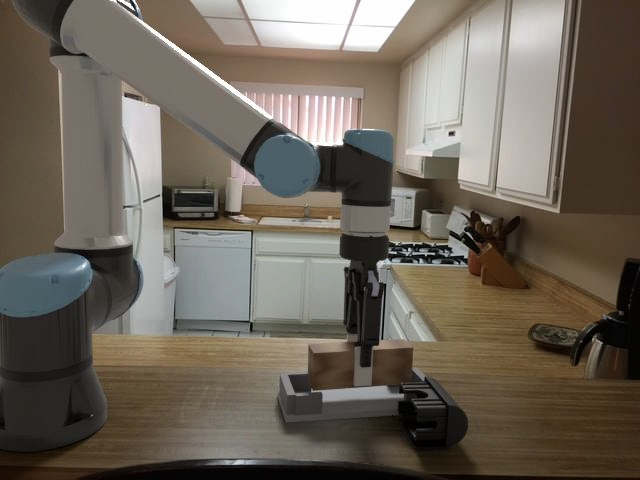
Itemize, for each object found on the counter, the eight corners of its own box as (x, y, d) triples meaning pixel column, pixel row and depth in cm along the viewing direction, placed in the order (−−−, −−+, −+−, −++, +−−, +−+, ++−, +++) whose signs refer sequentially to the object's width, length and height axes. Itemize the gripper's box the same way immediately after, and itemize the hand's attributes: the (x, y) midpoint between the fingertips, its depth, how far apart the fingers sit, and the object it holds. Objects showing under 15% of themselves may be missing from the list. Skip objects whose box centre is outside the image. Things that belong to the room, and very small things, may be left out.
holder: (285, 422, 78) (286, 396, 78) (277, 396, 87) (278, 372, 86) (437, 412, 83) (439, 388, 83) (415, 388, 92) (416, 366, 92)
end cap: (466, 452, 72) (470, 404, 71) (416, 453, 71) (419, 406, 70) (440, 417, 82) (443, 375, 81) (395, 418, 81) (398, 376, 80)
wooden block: (312, 390, 81) (313, 353, 80) (307, 380, 85) (308, 344, 84) (411, 383, 85) (413, 347, 84) (402, 373, 88) (403, 339, 88)
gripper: (408, 241, 74) (399, 400, 77) (371, 226, 90) (365, 358, 94) (356, 241, 72) (349, 404, 76) (328, 225, 89) (323, 360, 92)
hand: (358, 378), depth 85 cm, fingers closed on wooden block, 4 cm apart
